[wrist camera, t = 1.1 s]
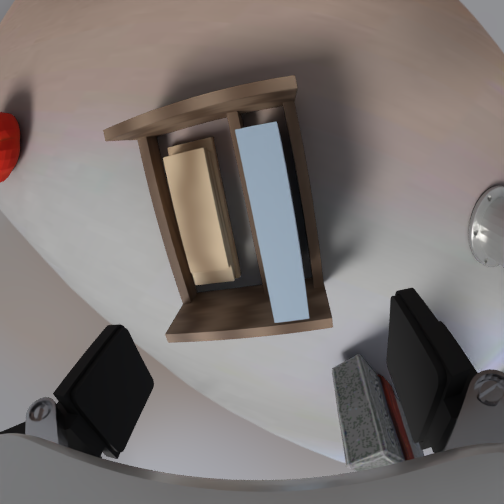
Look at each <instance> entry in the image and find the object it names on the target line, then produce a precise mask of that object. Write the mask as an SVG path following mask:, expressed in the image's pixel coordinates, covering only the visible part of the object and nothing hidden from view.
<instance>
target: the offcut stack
mask: <svg viewBox="0 0 504 504" xmlns="http://www.w3.org/2000/svg"><path fill="white" fill-rule="evenodd" d="M168 153H169V156H167V157H164V158H163V161H164V166H165V170H166V175H167V180H168V184H169V188H170V193H171V197H172V202H173V206H174V210H175V214H176V218H177V222H178V226H179V230H180V234H181V238H182V242H183V246H184V250H185V253H186V257H187V261H188V265H189V268H190V272H191V273H192V274H193V278H194V281H195V285H202V284H211V283H220V282H229V281H235V278H240V276H241V270H240V265H239V261H238V256H237V251H236V246H235V242H234V237H233V232H232V227H231V222H230V217H229V213H228V208H227V203H226V198H225V193H224V188H223V183H222V178H221V173H220V168H219V163H218V158H217V153H216V148H215V142H214V137H209V138H205V139H200V140H196V141H192V142H188V143H184V144H180V145H176V146H173V147H169V148H168Z"/></svg>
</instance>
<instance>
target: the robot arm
mask: <svg viewBox="0 0 504 504" xmlns="http://www.w3.org/2000/svg"><path fill="white" fill-rule="evenodd" d="M469 243H470V248H471V250H472V253H473V255H474V256H475V258H476V259H477V260H478V261H479V262H480V263H482V264H483V265H485V266H488V267H495V266H499V265H501V266H502V267H504V186H494V187H492V188H490V189H488V190H487V191H486V192H485V193H484V194H483V195H482V196H481V197H480V199H479V200H478V202H477V203H476V205H475V208H474V210H473V213H472V216H471V220H470V225H469ZM387 367H388V370H389V372H390V375H391V378H392V380H393V383H394V386H395V388H396V391H397V394H398V397H399V400H400V403H401V406H402V408H403V411H404V414H405V417H406V420H407V424H408V427H409V430H410V433H411V436H412V439H413V442H414V443H418V442H419V445H420V448H421V450H423V449H427V448H429V447H432V450H433V452H434V454H430V455H426V456H423V457H419V458H415V459H411V460H407V461H403V462H399V463H395V464H391V465H387V466H382V467H378V468H373V469H368V470H362V471H357V472H351V473H345V474H338V475H331V476H323V477H314V478H303V479H287V480H227V479H212V478H201V477H192V476H184V475H176V474H169V473H164V472H158V471H153V470H147V469H142V468H138V467H133V466H129V465H125V464H121V463H117V462H113V461H109V460H106V459H102V457H101V454H102V452H103V453H104V454H105V455H106V456H108V457H112V458H115V459H118V457H119V454H120V452H122V451H123V450H124V449H125V447H126V444H127V442H128V440H129V438H130V436H131V434H132V431H133V429H134V427H135V425H136V423H137V421H138V419H139V417H140V414H141V412H142V410H143V408H144V406H145V404H146V402H147V399H148V398H149V396H150V393H151V391H152V389H153V386H154V382H153V379H152V377H151V375H150V373H149V371H148V369H147V367H146V366H145V364H144V361H143V360H142V358H141V356H140V354H139V352H138V350H137V348H136V346H135V344H134V342H133V339H132V337H131V335H130V333H129V331H128V330H127V329H126V328H125V327H124V326H123V325H108V326H107V327H106V328H105V329H104V330H103V331H102V333H101V334H100V335H99V336H98V338H97V339H96V340H95V341H94V342H93V343H92V345H91V346H90V347H89V348H88V349H87V351H86V352H85V353H84V354H83V356H82V357H81V358H80V359H79V361H78V362H77V363H76V364H75V366H74V367H73V368H72V370H71V371H70V372H69V373H68V375H67V376H66V377H65V379H64V380H63V381H62V383H61V384H60V385H59V386H58V388H57V389H56V390H55V392H54V393H53V394H54V396H55V397H56V398H57V399H58V401H59V402H58V403H57V404H56V403H55V401H54V400H53V399H51V398H49V397H44V398H40V399H39V400H37V401H35V402H34V403H33V404H32V405H31V406H30V407H29V409H28V411H27V413H26V422H24V423H21V424H19V425H16V426H14V427H12V428H9V429H7V430H4V431H2V432H0V504H504V373H503V372H501V371H498V370H490V369H489V370H484V371H481V372H480V373H477V371H476V370H475V368H474V367H473V365H472V364H471V362H470V361H469V359H468V358H467V356H466V355H465V353H464V352H463V350H462V349H461V347H460V346H459V344H458V343H457V341H456V340H455V339H454V337H453V336H452V334H451V333H450V332H449V330H448V329H447V327H446V326H445V325H444V324H443V323H442V322H441V321H438V320H437V318H436V317H435V316H434V314H433V313H432V312H431V310H430V309H429V308H428V306H427V305H426V304H425V302H424V301H423V300H422V298H421V297H420V296H419V295H418V293H417V292H416V291H415V289H413V288H409V289H404V290H399V291H397V292H396V294H395V296H392V297H391V301H390V322H389V337H388V348H387Z"/></svg>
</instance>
